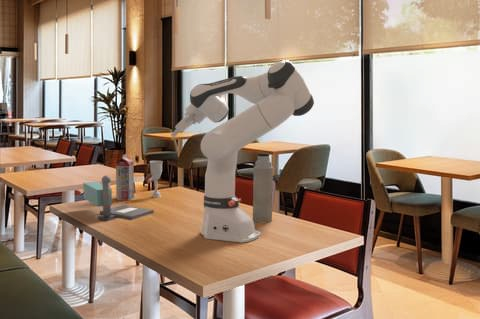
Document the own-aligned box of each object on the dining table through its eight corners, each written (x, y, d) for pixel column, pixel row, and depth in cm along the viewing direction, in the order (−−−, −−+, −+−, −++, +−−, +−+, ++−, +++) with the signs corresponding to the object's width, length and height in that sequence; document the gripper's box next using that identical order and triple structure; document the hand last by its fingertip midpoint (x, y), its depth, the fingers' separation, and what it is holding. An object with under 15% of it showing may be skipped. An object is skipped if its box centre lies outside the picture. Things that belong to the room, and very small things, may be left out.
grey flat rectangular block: (153, 212, 209) (153, 209, 209) (131, 219, 197) (131, 216, 197) (122, 207, 218) (122, 204, 218) (99, 213, 206) (99, 210, 205)
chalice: (160, 198, 239) (160, 162, 237) (147, 197, 241) (147, 162, 239) (165, 195, 247) (165, 161, 244) (152, 194, 248) (152, 160, 246)
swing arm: (115, 215, 197) (114, 175, 195) (101, 217, 194) (100, 176, 192) (97, 204, 217) (96, 168, 215) (83, 206, 214) (82, 169, 212)
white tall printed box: (133, 197, 241) (133, 154, 238) (129, 200, 234) (128, 155, 232) (121, 196, 242) (120, 153, 239) (116, 199, 235) (115, 155, 232)
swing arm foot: (115, 218, 198) (115, 215, 198) (107, 221, 194) (107, 218, 193) (106, 216, 200) (106, 214, 200) (98, 219, 196) (97, 216, 196)
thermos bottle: (271, 218, 203) (273, 152, 200) (271, 222, 195) (273, 154, 192) (253, 217, 204) (254, 152, 200) (252, 222, 196) (253, 154, 192)
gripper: (198, 120, 199) (174, 143, 200) (201, 118, 219) (180, 139, 220) (187, 109, 198) (164, 132, 199) (191, 108, 218) (170, 129, 219)
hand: (172, 136), depth 210 cm, fingers closed
